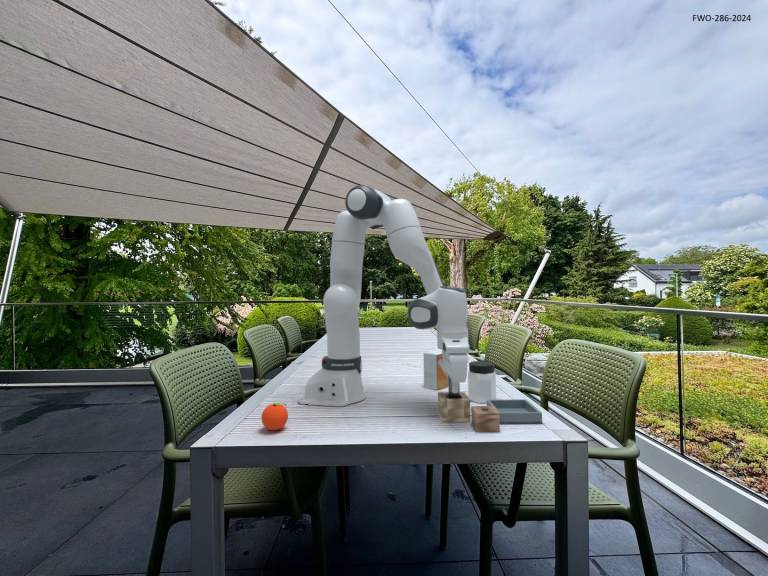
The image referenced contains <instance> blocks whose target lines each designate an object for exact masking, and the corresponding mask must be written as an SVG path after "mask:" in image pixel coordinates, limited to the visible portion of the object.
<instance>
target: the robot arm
mask: <svg viewBox="0 0 768 576" xmlns="http://www.w3.org/2000/svg"><path fill="white" fill-rule="evenodd" d="M344 200H345V203H344V205H345V209H346V210H344V211H341V212H340V213H338V215H337V217H336V221H335V223H334V226H333V227H334V228H333V231H332V232H333V233H332V239H331V249H330V259H329V260H330V261H329V268H330V269H329V270H330V277H329V279H330V280H329V281H330V282H329V283H330V284H329V287H328V289H326V291H325V293H324V295H323V311H324V312H323V313H324V321H325V328H326V338H327V339H326V344H327V345H326V346H327V353H326V354H327V355H324V356H322V358H321V368H320V369H319V370H318V371H316V373H315V374H313V375H312V376H311V377H310V378H309V379H308V380H307V382H306V384H305V389H304V392H302V393H300V394H299V396H298V399H297V402H299V403H300V404H299V403H298V404H299V405H305V404H308V405H307V406H309V405H310V406H322V407H323V406H324V407H344V406H347V405H350V404H354V403H355V404H356V403H358V402H361V401H364V399H366V394H365V391H364V385H363V379H362V370H363V364H362V363H363V361H362V356H361V344H360V343H361V342H360V341H361V340H360V339H361V338H360V334H361V333H360V332H361V331H360V323H359V311H358V310H359V307H360V303H361V297H362V295H361V294H362V282H363V266H364V265H363V263H364V253H365V243H366V234H367V231H368V229H372V230H376V229H378V228H379V229H380V228H382V227H384V231H385V234H386V237H387V238H386V239H387V242H388V246H389V249H390V251H391V252H392V254H393V256H394V257H395V258H396V259H397V260H398V261H400V262H402V263H404V264H406V265H407V266H409V267H411V268H412V269H413V270H415V272H416V273H417V274H418V275H419V277H420V279H421V282H422V285H423V288H424V290H425V293H426V295H425V296H421V297H419V298H416V299H414V300H412V301H411V302H410V304H409V305H408V307H407V319H408V322H409V324H411V326H412V327H414V328H415V329H418V330H432V329H436V342H437V347H436V348H437V350H440V351H442V362H443V367H444V369H445V370H446V372H447V373H448V375H449V377H450V378H451V381H452V385H451V390H452V392H453V393H458V392H459V382H460V383H465V382H466V380H467V378H468V360H469V359H468V354H470V351H471V350H470V348H471V347H470V343H469V329H468V326H467V324H468V323H467V321H468V317H469V313H468V311H469V309H468V299H467V294H466V292H465V290H463V288H461V287H457V286H451V285H450V286H449V285H445V284H444V281H443V279H442V276H441V274H440V271H439V267H438V266H437V263H436V261H435V259H434V256H433V255H432V253H431V251H430V249H429V247H428V246H429V245H428V244H427V242H426V239H425V236H424V233H423V231H422V227H421V224H420V221H419V218H418V215H417V213H416V211H415V209H414V207H413V204H412V203H411V202H410V201H409V200H407V199H406V198H396V199H395V198H394V199H393V198H392V197H390V196H388V195H387V194H386V193H384V192H382V191H380V190H378V189H375V188H372V187H371V186H368V185H363V184H359V185H354V187H352V188H350V189H349V190H348V192H347V194H346V196H345V199H344Z"/></svg>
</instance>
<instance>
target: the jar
mask: <svg viewBox="0 0 768 576" xmlns="http://www.w3.org/2000/svg"><path fill="white" fill-rule="evenodd" d="M495 369H496V368H495V364H494V362H491V361H487V360H476V361H475V360H474V361H470V362H469V363H468V370H467V391H468V395H467V396H468V398H469V399H470V402H474V403H477V404H487V400H497V388H496V387H497V381H496V379H497V378H496V371H495Z"/></svg>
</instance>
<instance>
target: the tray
mask: <svg viewBox="0 0 768 576" xmlns="http://www.w3.org/2000/svg"><path fill="white" fill-rule="evenodd" d="M486 406H494V407H495V409H496V410H497V411H498V412H499V414H500V425H542V424H543V412H542V411H540V410H539V409H538V408H537V407H536V406H535V405H534V404H532V403H531V402H530V401H529V400H528V399H525V398H523V399H522V398H521V399H518V398H517V399H496V400H487V403H486Z"/></svg>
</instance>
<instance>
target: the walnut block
mask: <svg viewBox="0 0 768 576" xmlns="http://www.w3.org/2000/svg"><path fill="white" fill-rule="evenodd" d="M470 418H471V425H472V427H473V429H474V431H475V433H476V432H479V433H481V434H482V433H484V434H485V433H486V434H487V433H501V429H500V428H501V427H500V426H501V424H500V414H499V412H498V411H497V410H496V409H495V407H494V406H487V405H476V406H475V405H470Z"/></svg>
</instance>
